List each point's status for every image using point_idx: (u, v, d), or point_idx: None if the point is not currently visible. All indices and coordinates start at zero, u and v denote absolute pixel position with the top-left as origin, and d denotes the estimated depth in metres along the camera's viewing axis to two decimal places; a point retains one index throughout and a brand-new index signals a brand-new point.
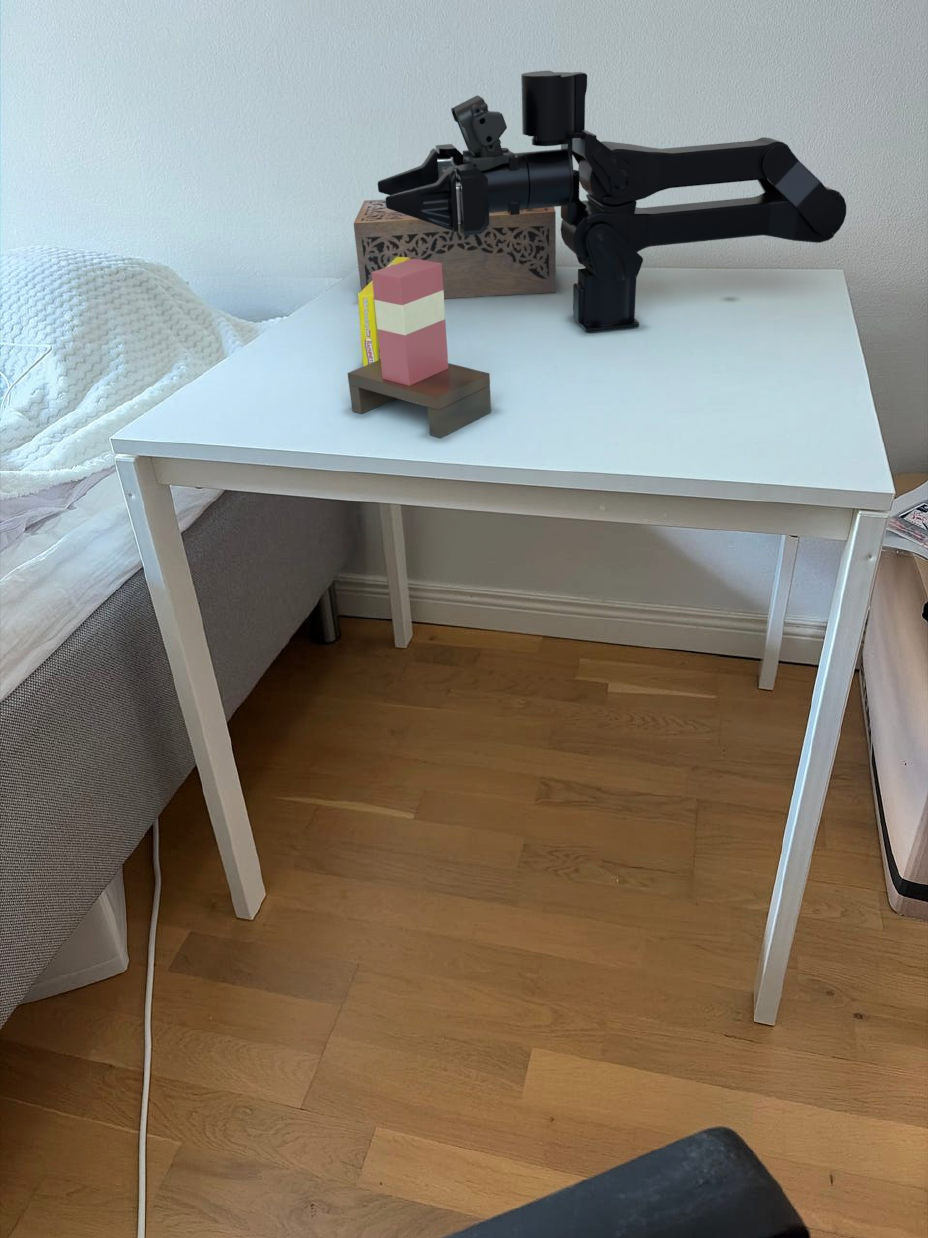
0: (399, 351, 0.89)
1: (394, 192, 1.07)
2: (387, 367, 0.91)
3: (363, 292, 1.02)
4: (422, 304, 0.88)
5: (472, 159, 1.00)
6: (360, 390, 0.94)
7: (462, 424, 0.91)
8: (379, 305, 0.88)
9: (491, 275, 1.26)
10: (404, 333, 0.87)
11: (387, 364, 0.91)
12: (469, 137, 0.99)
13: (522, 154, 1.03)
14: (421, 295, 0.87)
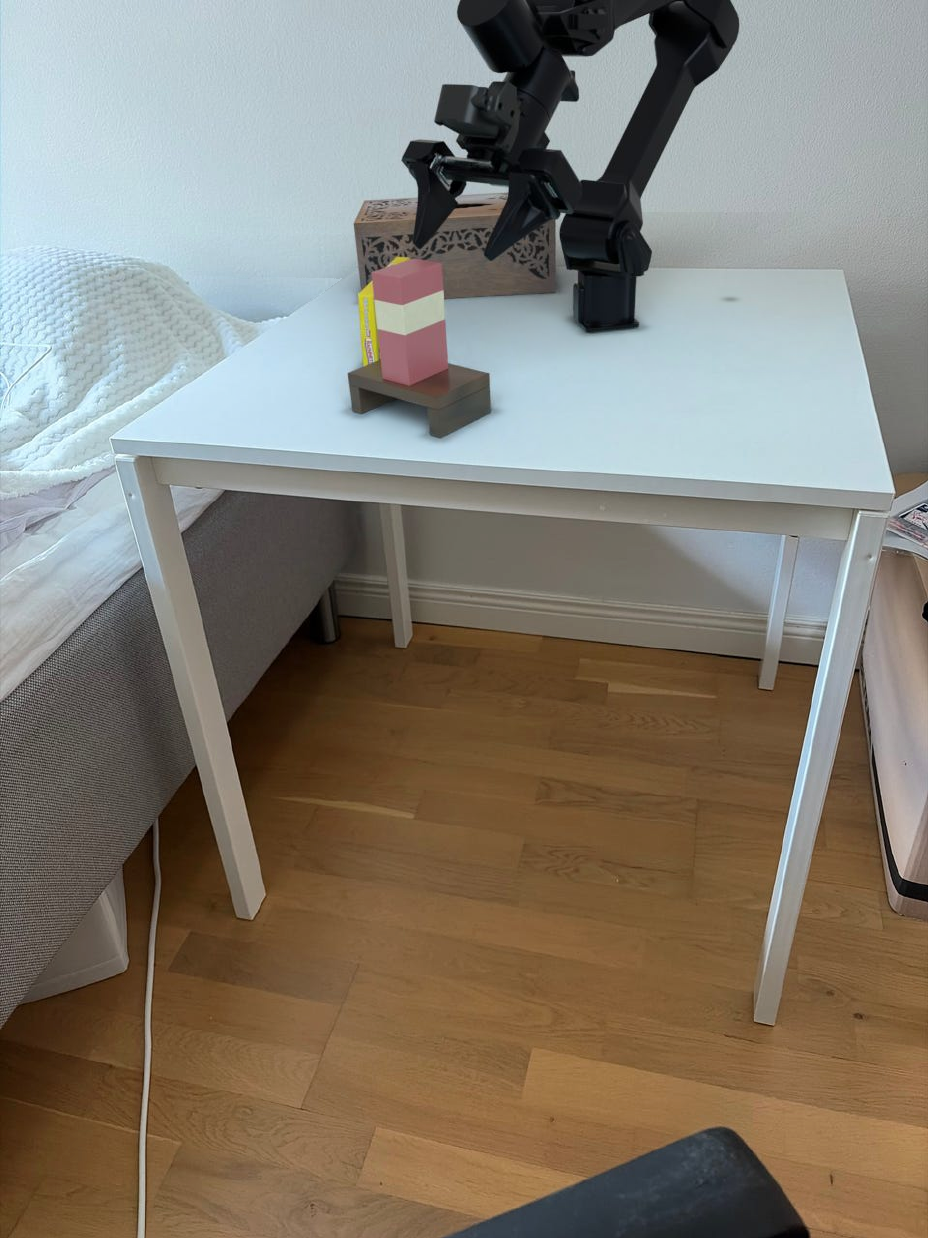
0: (399, 351, 0.89)
1: (429, 235, 0.95)
2: (387, 367, 0.91)
3: (363, 292, 1.02)
4: (422, 304, 0.88)
5: (502, 143, 0.88)
6: (360, 390, 0.94)
7: (462, 424, 0.91)
8: (379, 305, 0.88)
9: (491, 275, 1.26)
10: (404, 333, 0.87)
11: (387, 364, 0.91)
12: (487, 129, 0.86)
13: None
14: (421, 295, 0.87)
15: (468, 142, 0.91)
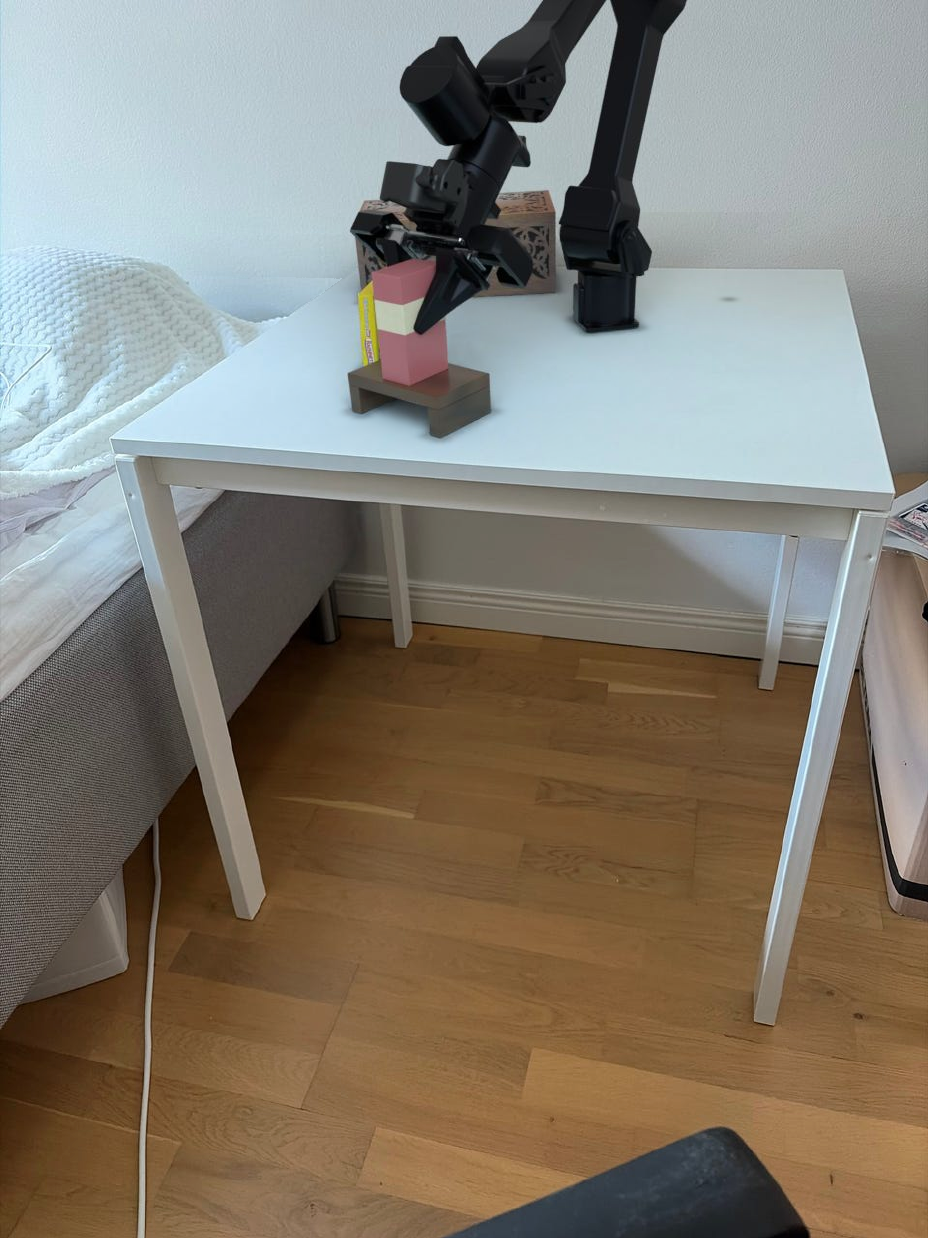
0: (399, 352, 0.89)
1: None
2: (387, 367, 0.91)
3: (363, 292, 1.02)
4: None
5: (450, 219, 0.86)
6: (360, 390, 0.94)
7: (462, 424, 0.91)
8: (379, 305, 0.88)
9: (491, 275, 1.26)
10: (404, 333, 0.87)
11: (387, 364, 0.91)
12: (434, 206, 0.84)
13: (460, 162, 0.87)
14: (421, 295, 0.87)
15: (416, 216, 0.88)
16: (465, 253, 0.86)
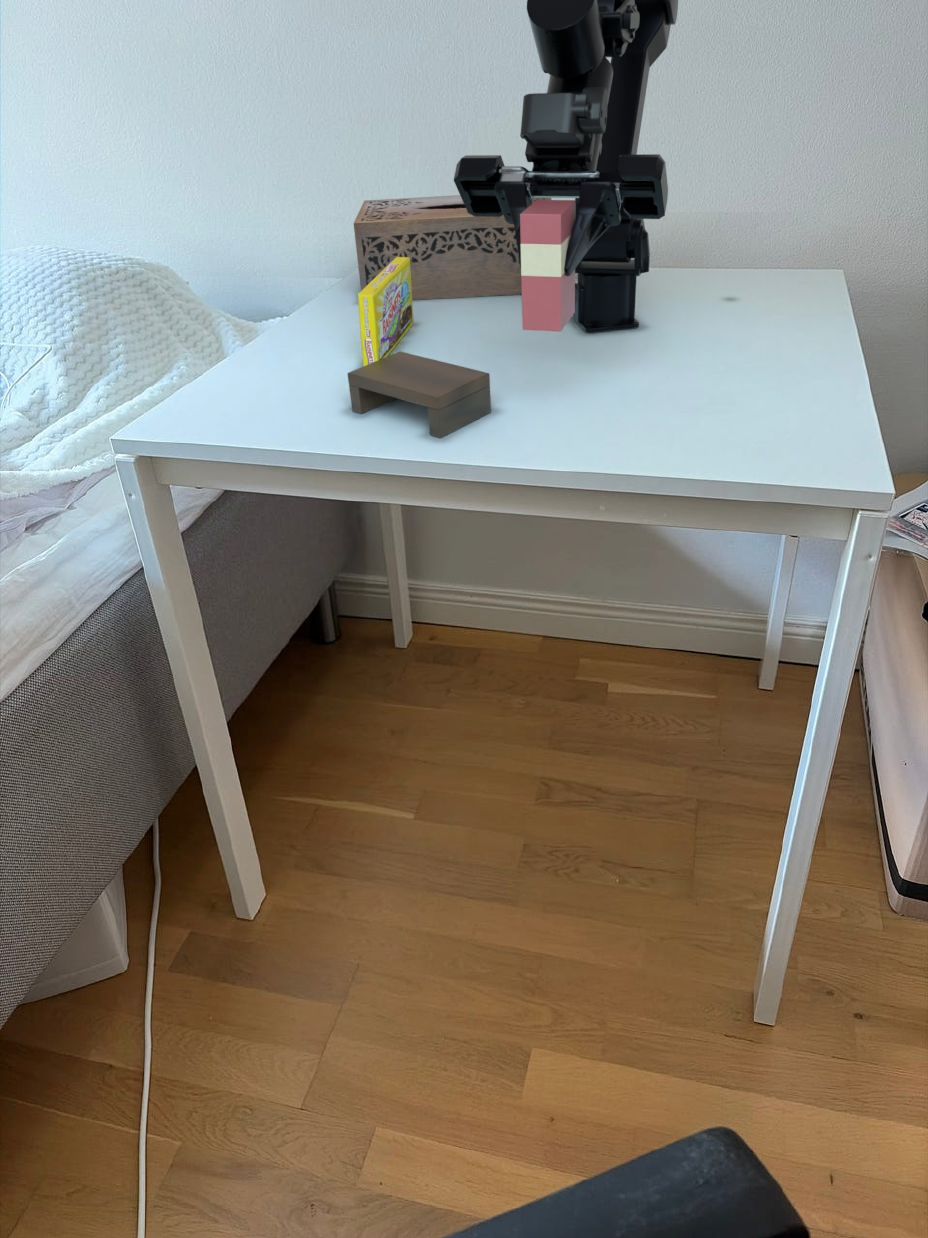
0: (550, 296, 0.85)
1: None
2: (531, 316, 0.86)
3: (363, 292, 1.02)
4: (568, 244, 0.85)
5: (589, 152, 0.83)
6: (360, 390, 0.94)
7: (462, 424, 0.91)
8: (528, 249, 0.83)
9: (491, 275, 1.26)
10: (560, 275, 0.84)
11: (531, 312, 0.86)
12: (580, 138, 0.81)
13: None
14: (567, 234, 0.84)
15: (540, 154, 0.85)
16: None
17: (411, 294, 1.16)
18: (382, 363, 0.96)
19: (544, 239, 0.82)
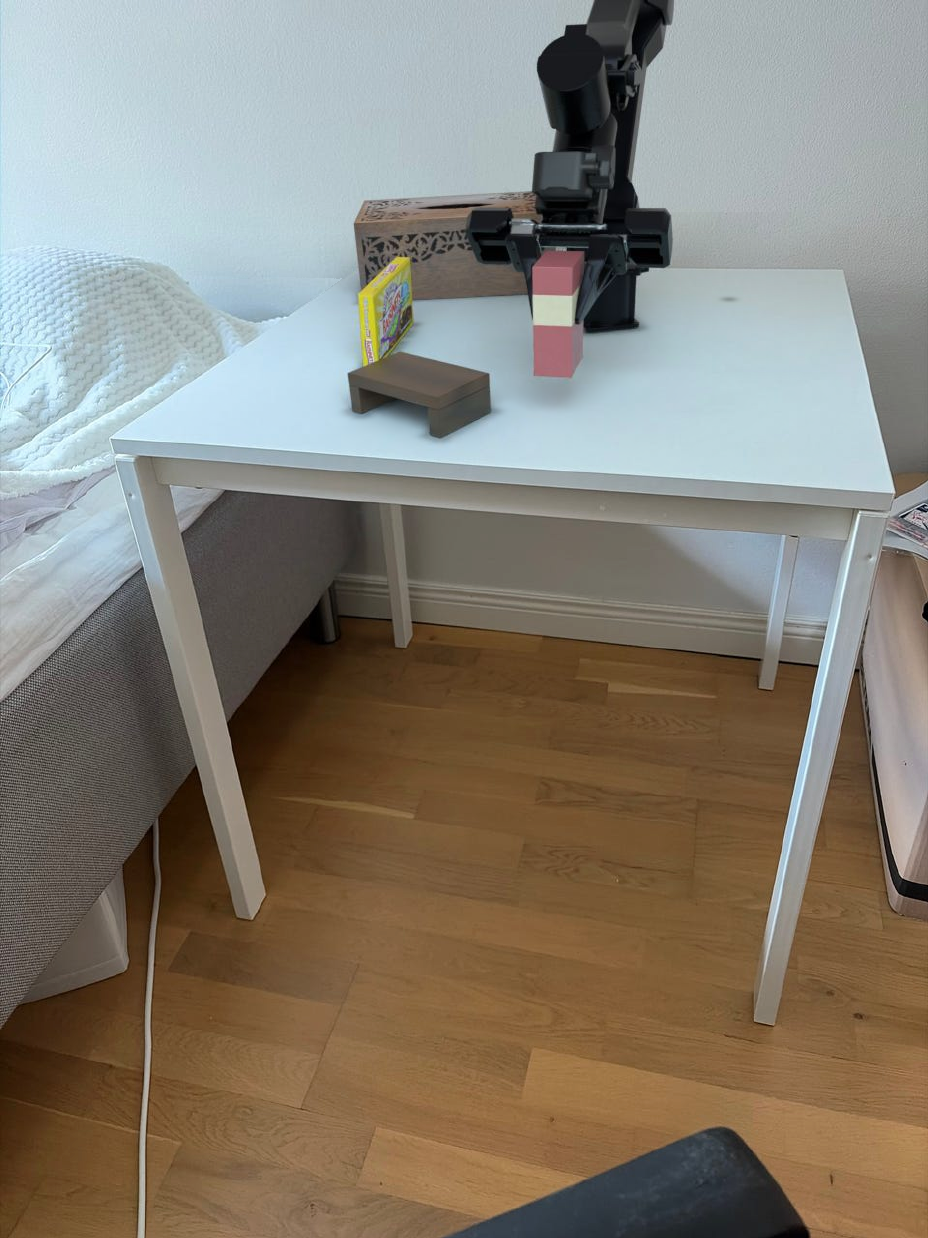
0: (562, 344, 0.88)
1: None
2: (542, 363, 0.89)
3: (363, 292, 1.02)
4: (577, 294, 0.87)
5: (597, 206, 0.86)
6: (360, 390, 0.94)
7: (462, 424, 0.91)
8: (539, 299, 0.86)
9: (491, 275, 1.26)
10: (571, 325, 0.86)
11: (542, 360, 0.89)
12: (589, 194, 0.84)
13: (582, 150, 0.87)
14: (577, 284, 0.87)
15: (549, 207, 0.87)
16: None
17: (411, 294, 1.16)
18: (382, 363, 0.96)
19: (556, 291, 0.85)
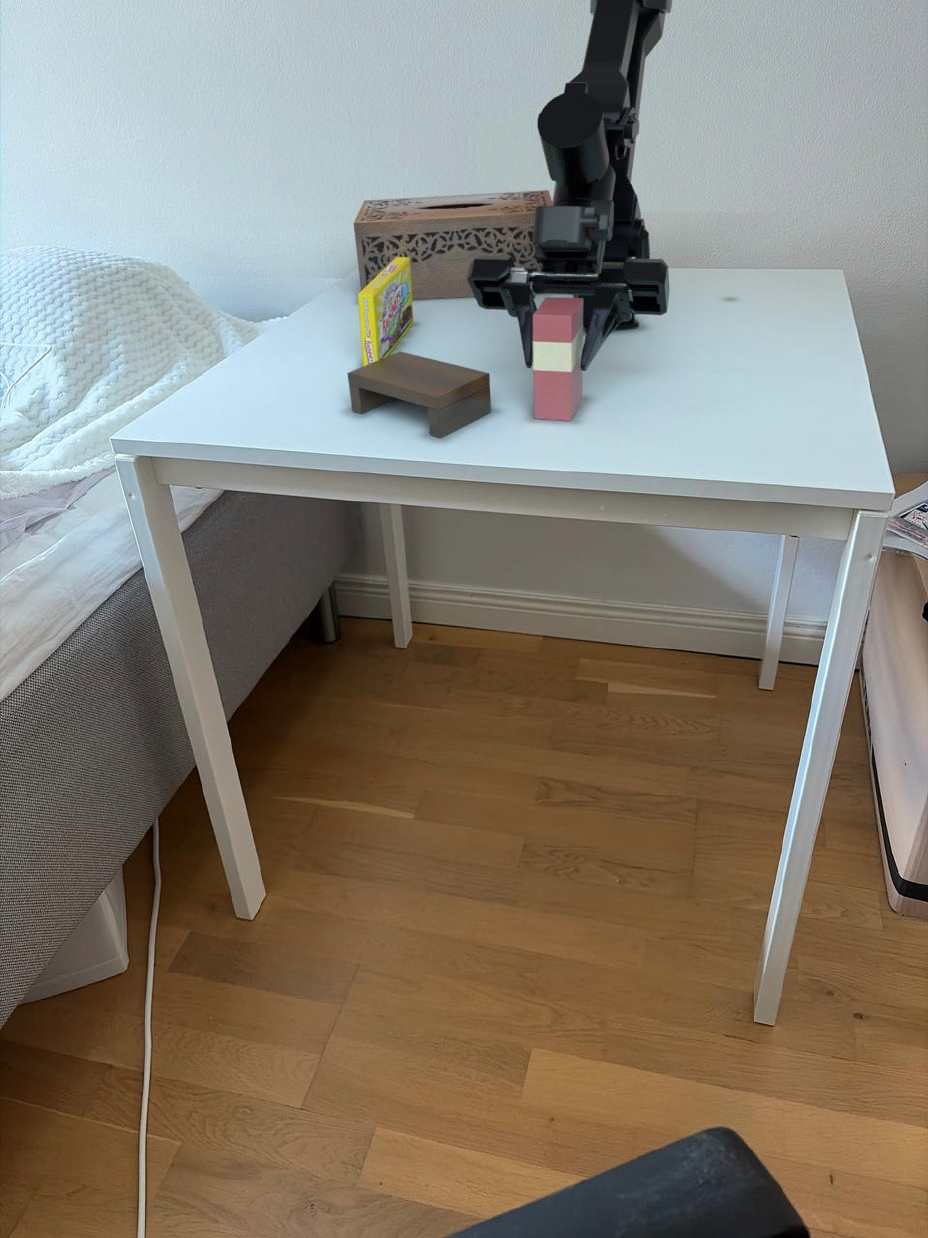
0: (561, 389, 0.90)
1: None
2: (542, 406, 0.91)
3: (363, 292, 1.02)
4: (577, 340, 0.90)
5: (596, 257, 0.88)
6: (360, 390, 0.94)
7: (462, 424, 0.91)
8: (540, 346, 0.88)
9: None
10: (571, 370, 0.89)
11: (542, 403, 0.91)
12: (588, 246, 0.86)
13: (581, 201, 0.90)
14: (577, 331, 0.89)
15: (549, 257, 0.90)
16: None
17: (411, 294, 1.16)
18: (382, 363, 0.96)
19: (555, 338, 0.87)
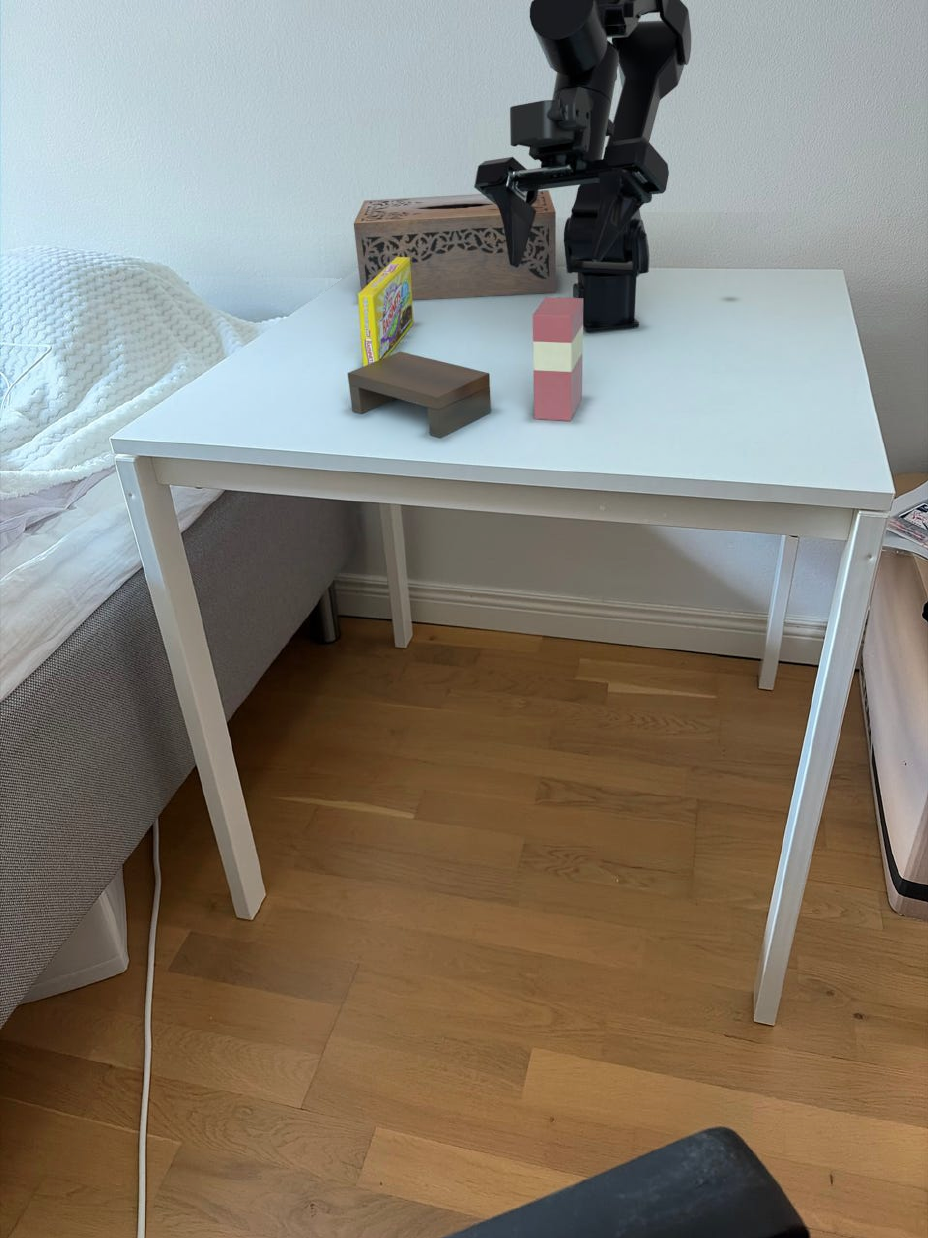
0: (561, 389, 0.90)
1: (522, 251, 0.96)
2: (542, 406, 0.91)
3: (363, 292, 1.02)
4: (577, 340, 0.90)
5: (581, 146, 0.89)
6: (360, 390, 0.94)
7: (462, 424, 0.91)
8: (540, 346, 0.88)
9: (491, 275, 1.26)
10: (571, 370, 0.89)
11: (542, 403, 0.91)
12: (566, 137, 0.87)
13: None
14: (577, 331, 0.89)
15: (542, 152, 0.91)
16: (628, 170, 0.87)
17: (411, 294, 1.16)
18: (382, 363, 0.96)
19: (555, 338, 0.87)
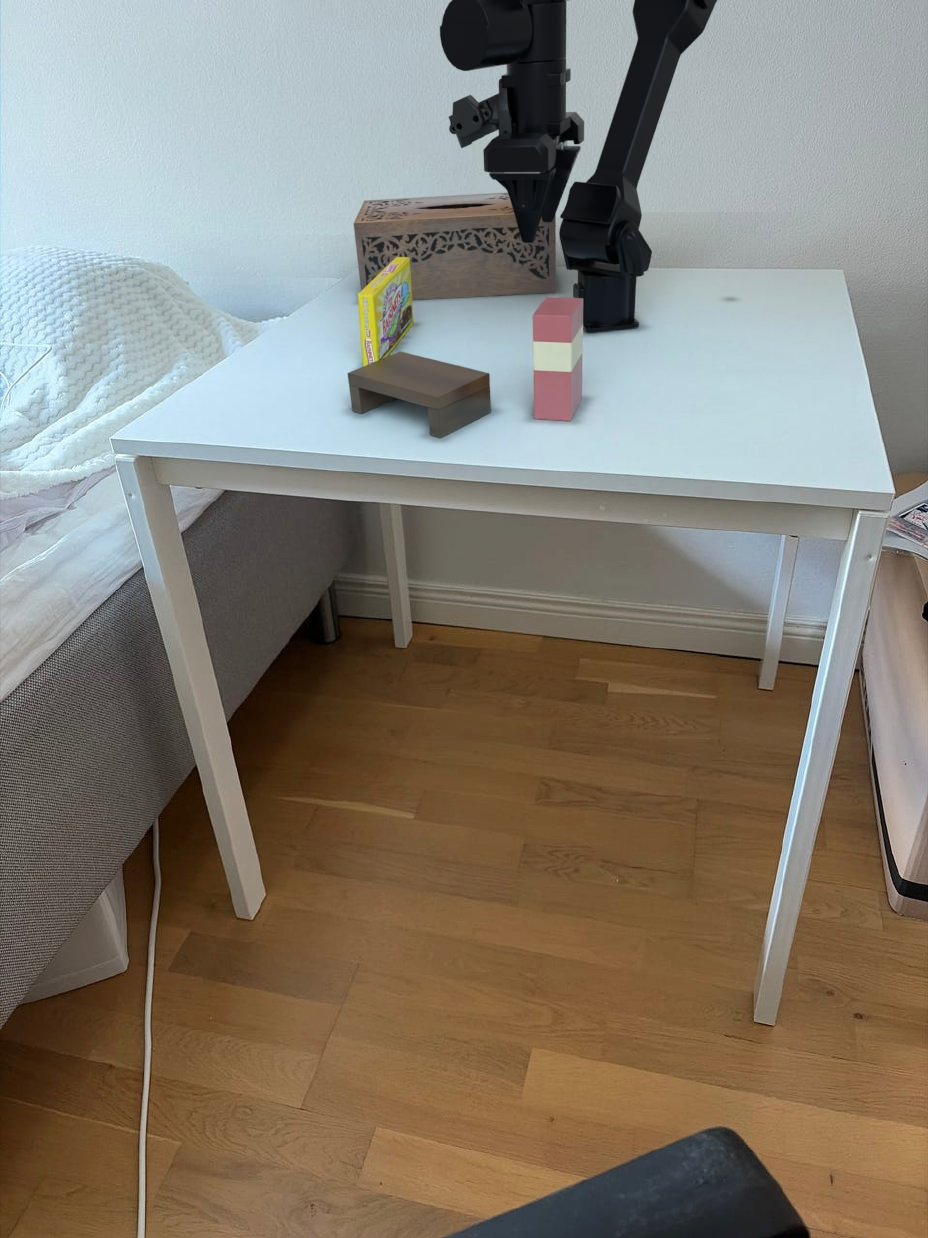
0: (561, 389, 0.90)
1: (553, 204, 1.03)
2: (542, 406, 0.91)
3: (363, 292, 1.02)
4: (577, 340, 0.90)
5: (499, 134, 0.93)
6: (360, 390, 0.94)
7: (462, 424, 0.91)
8: (540, 346, 0.88)
9: (491, 275, 1.26)
10: (571, 370, 0.89)
11: (542, 403, 0.91)
12: (481, 135, 0.94)
13: None
14: (576, 331, 0.89)
15: None
16: None
17: (411, 294, 1.16)
18: (382, 363, 0.96)
19: (555, 338, 0.87)
